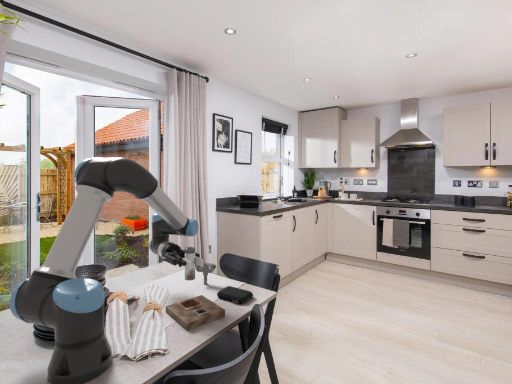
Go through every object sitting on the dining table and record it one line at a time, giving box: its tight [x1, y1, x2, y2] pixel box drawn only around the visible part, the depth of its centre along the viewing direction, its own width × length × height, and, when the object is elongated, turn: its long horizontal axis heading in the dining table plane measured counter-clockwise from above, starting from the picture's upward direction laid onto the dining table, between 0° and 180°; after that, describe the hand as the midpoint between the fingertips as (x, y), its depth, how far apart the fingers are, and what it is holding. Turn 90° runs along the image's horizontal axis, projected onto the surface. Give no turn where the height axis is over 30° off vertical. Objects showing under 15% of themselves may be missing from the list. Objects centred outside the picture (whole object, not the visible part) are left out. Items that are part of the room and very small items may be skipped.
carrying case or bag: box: [216, 285, 254, 305], centre depth 125 cm, size 11×3×15 cm
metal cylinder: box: [184, 246, 196, 281], centre depth 112 cm, size 4×4×12 cm
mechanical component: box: [195, 262, 217, 285], centre depth 140 cm, size 3×10×10 cm, turn 78°
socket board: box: [165, 294, 226, 331], centre depth 110 cm, size 16×17×3 cm
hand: (197, 264), depth 108 cm, fingers closed on metal cylinder, 4 cm apart
